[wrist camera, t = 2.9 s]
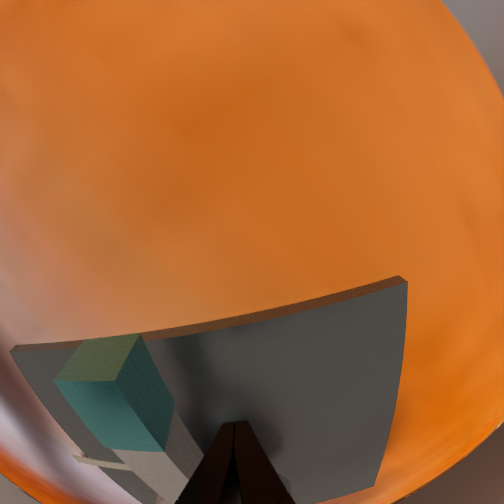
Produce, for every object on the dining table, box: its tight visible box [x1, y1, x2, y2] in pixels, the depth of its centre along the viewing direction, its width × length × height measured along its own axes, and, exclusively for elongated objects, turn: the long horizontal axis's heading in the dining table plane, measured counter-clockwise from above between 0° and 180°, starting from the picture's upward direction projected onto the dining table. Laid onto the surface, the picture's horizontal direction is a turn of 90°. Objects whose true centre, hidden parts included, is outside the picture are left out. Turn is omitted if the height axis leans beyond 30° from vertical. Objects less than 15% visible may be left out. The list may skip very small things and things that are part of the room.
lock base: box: [9, 276, 408, 504], centre depth 13 cm, size 24×22×2 cm
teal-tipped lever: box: [53, 333, 294, 504], centre depth 9 cm, size 17×8×3 cm, turn 12°
